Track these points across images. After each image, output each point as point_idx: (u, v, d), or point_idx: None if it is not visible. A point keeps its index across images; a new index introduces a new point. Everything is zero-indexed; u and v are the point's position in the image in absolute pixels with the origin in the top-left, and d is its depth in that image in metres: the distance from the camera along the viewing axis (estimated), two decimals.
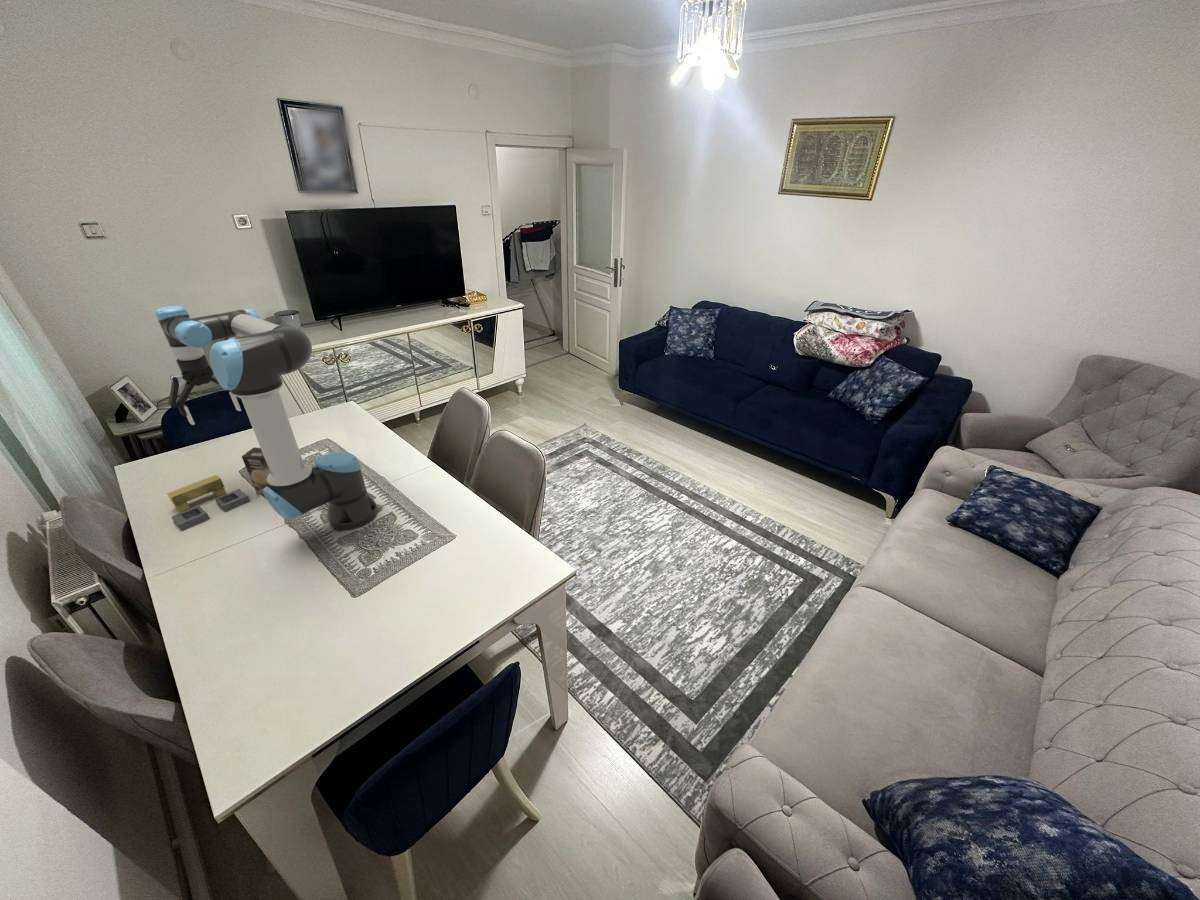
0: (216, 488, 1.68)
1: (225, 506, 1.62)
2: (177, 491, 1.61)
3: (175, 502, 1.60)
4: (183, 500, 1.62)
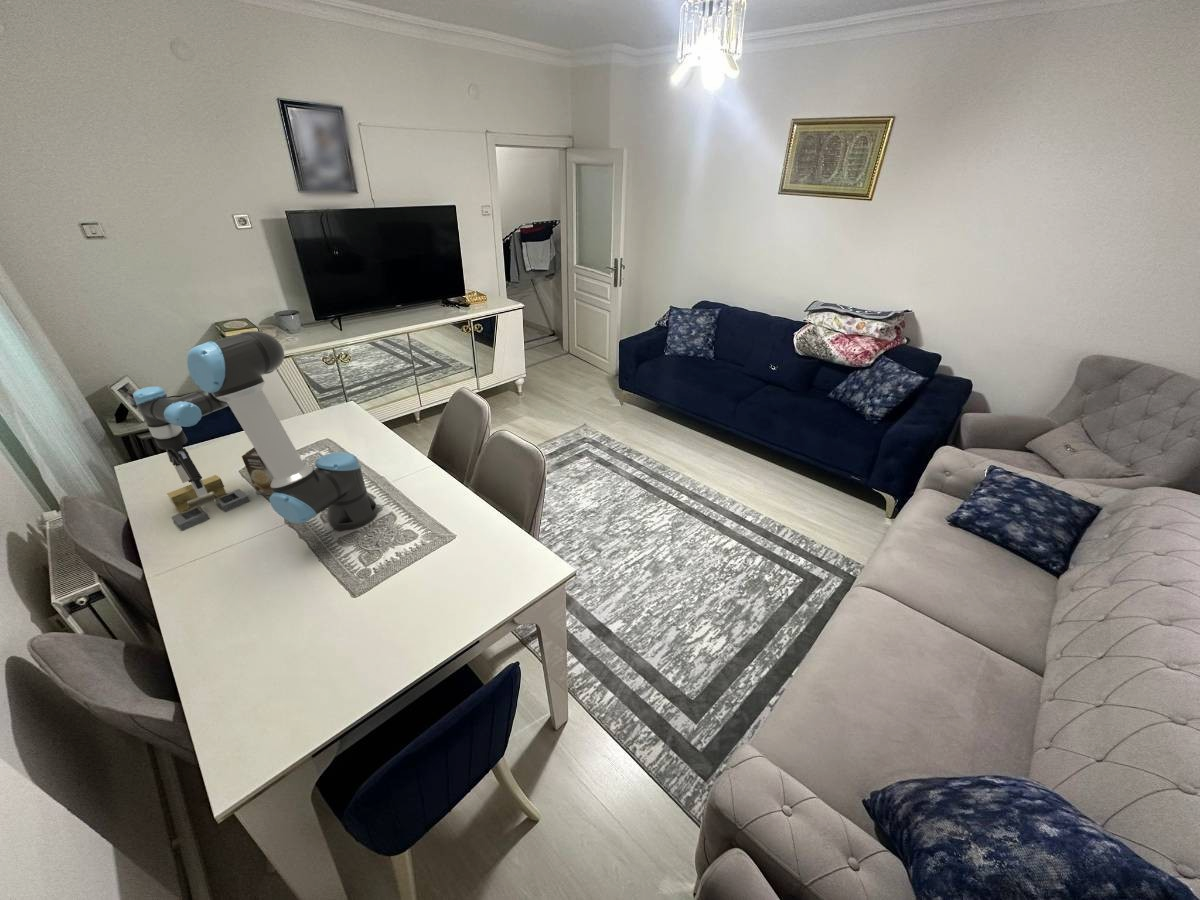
0: (216, 488, 1.68)
1: (225, 506, 1.62)
2: (177, 491, 1.61)
3: (175, 502, 1.60)
4: (183, 500, 1.62)
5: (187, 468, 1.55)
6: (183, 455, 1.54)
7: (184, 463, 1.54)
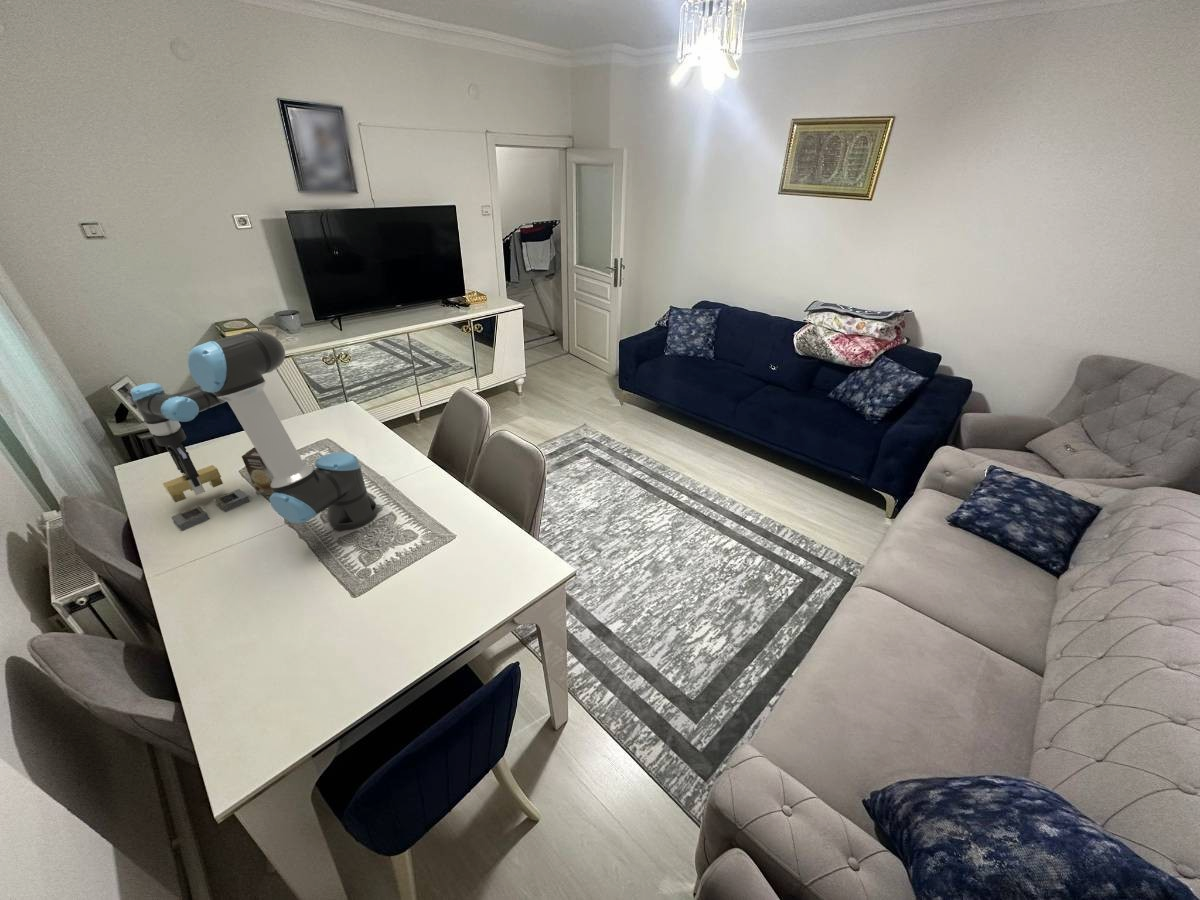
0: (213, 478, 1.66)
1: (225, 506, 1.62)
2: (173, 481, 1.59)
3: (171, 492, 1.58)
4: (179, 490, 1.59)
5: (186, 468, 1.56)
6: (184, 456, 1.54)
7: (184, 463, 1.55)
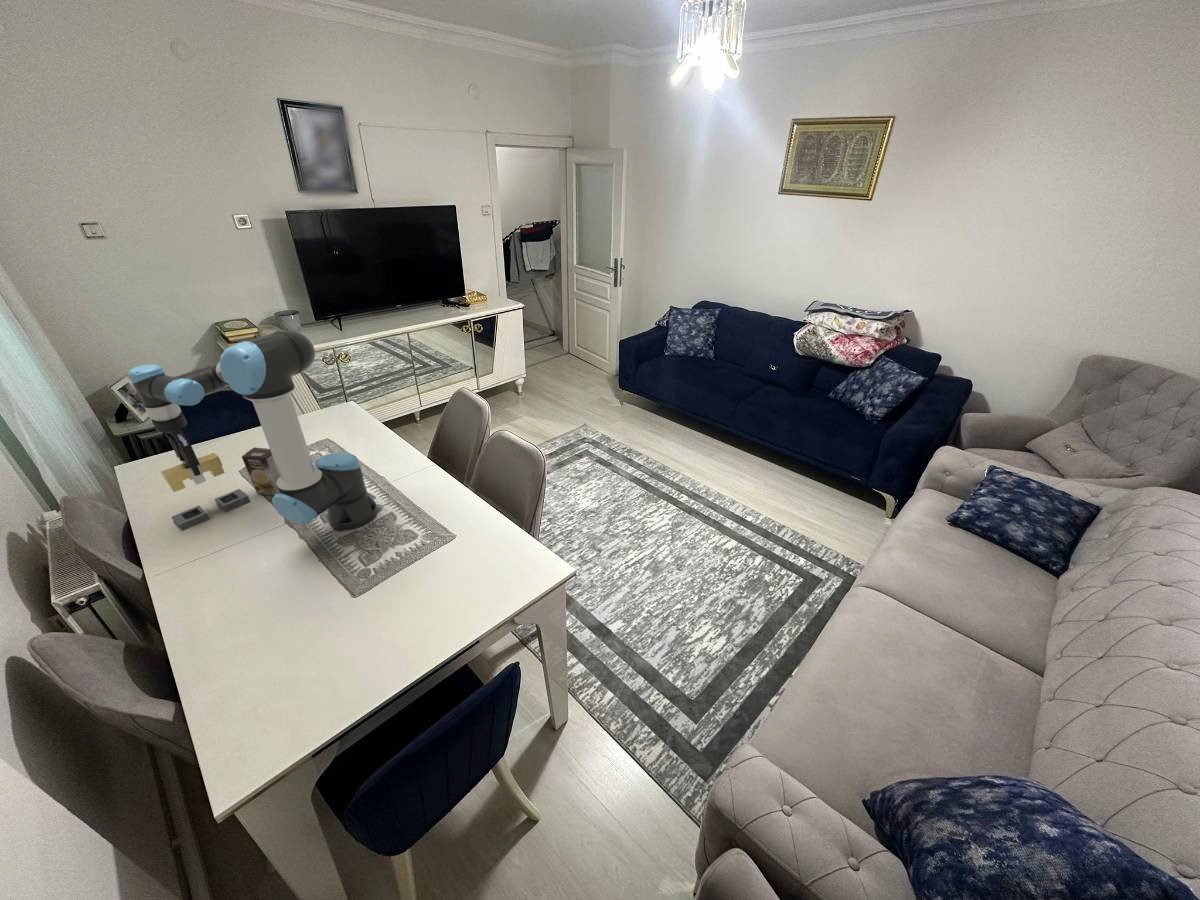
0: (214, 467, 1.57)
1: (225, 506, 1.62)
2: (172, 469, 1.50)
3: (169, 481, 1.49)
4: (178, 479, 1.50)
5: (186, 455, 1.47)
6: (185, 443, 1.45)
7: (184, 450, 1.46)
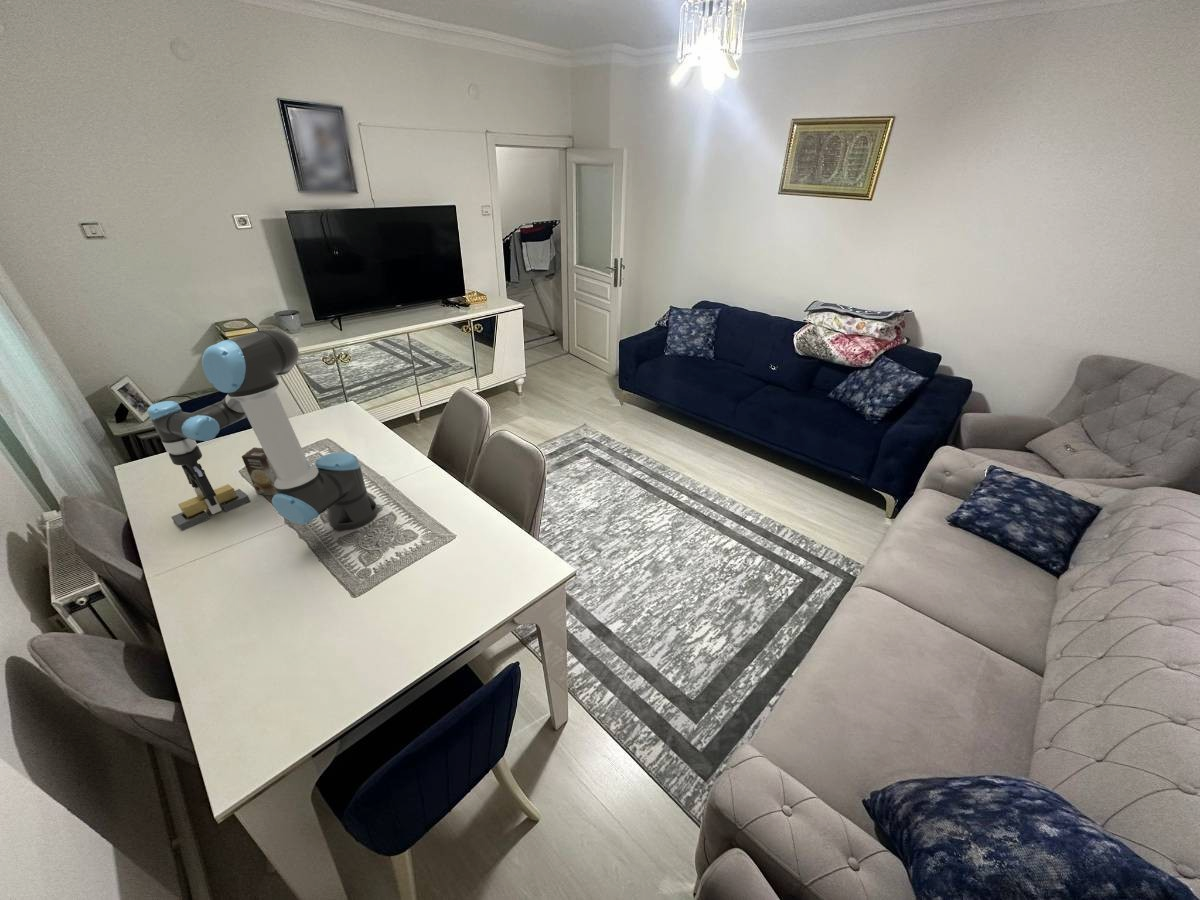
0: (228, 498, 1.64)
1: (225, 506, 1.62)
2: (189, 501, 1.57)
3: (187, 513, 1.55)
4: (195, 511, 1.57)
5: (202, 486, 1.52)
6: (200, 474, 1.50)
7: (200, 481, 1.51)
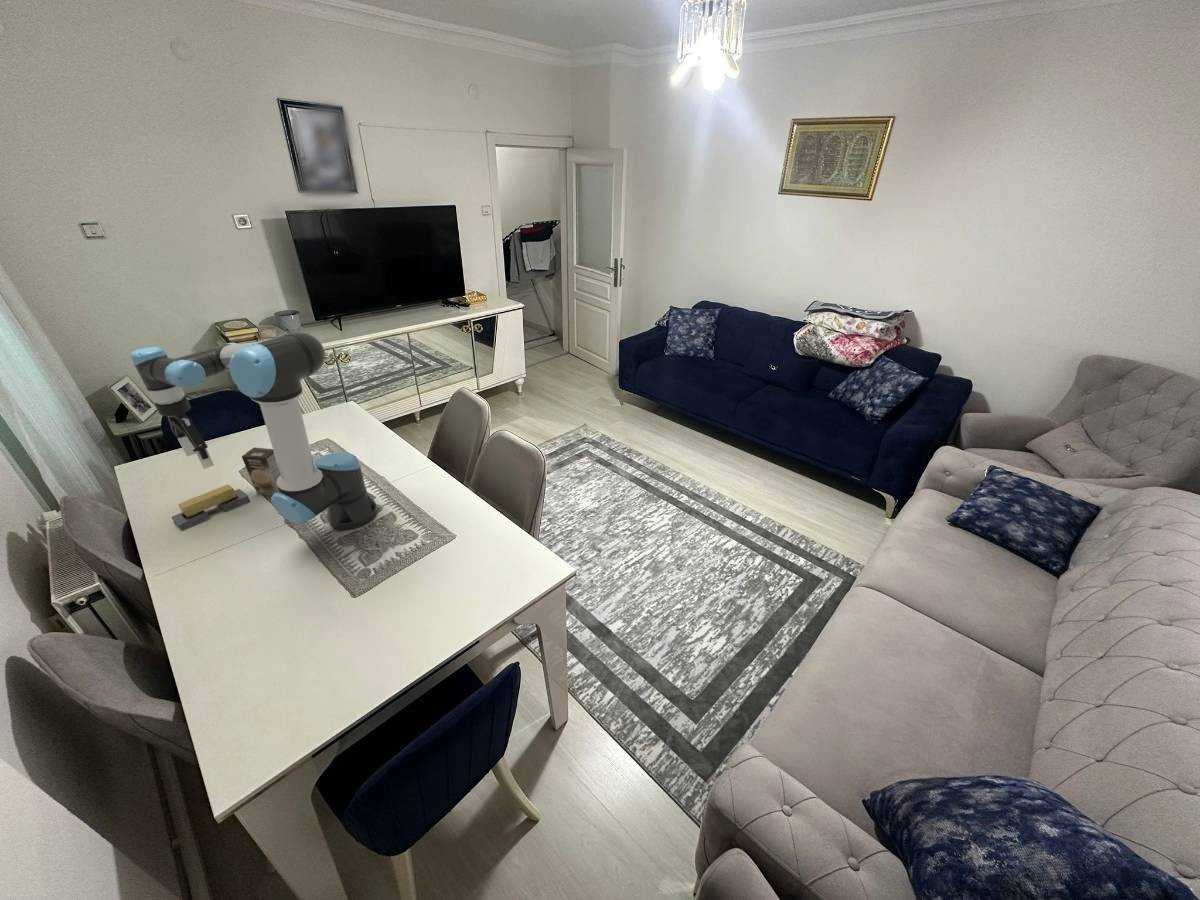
0: (228, 498, 1.64)
1: (225, 506, 1.62)
2: (189, 501, 1.57)
3: (187, 513, 1.55)
4: (195, 511, 1.57)
5: (191, 436, 1.43)
6: (187, 422, 1.42)
7: (188, 430, 1.43)
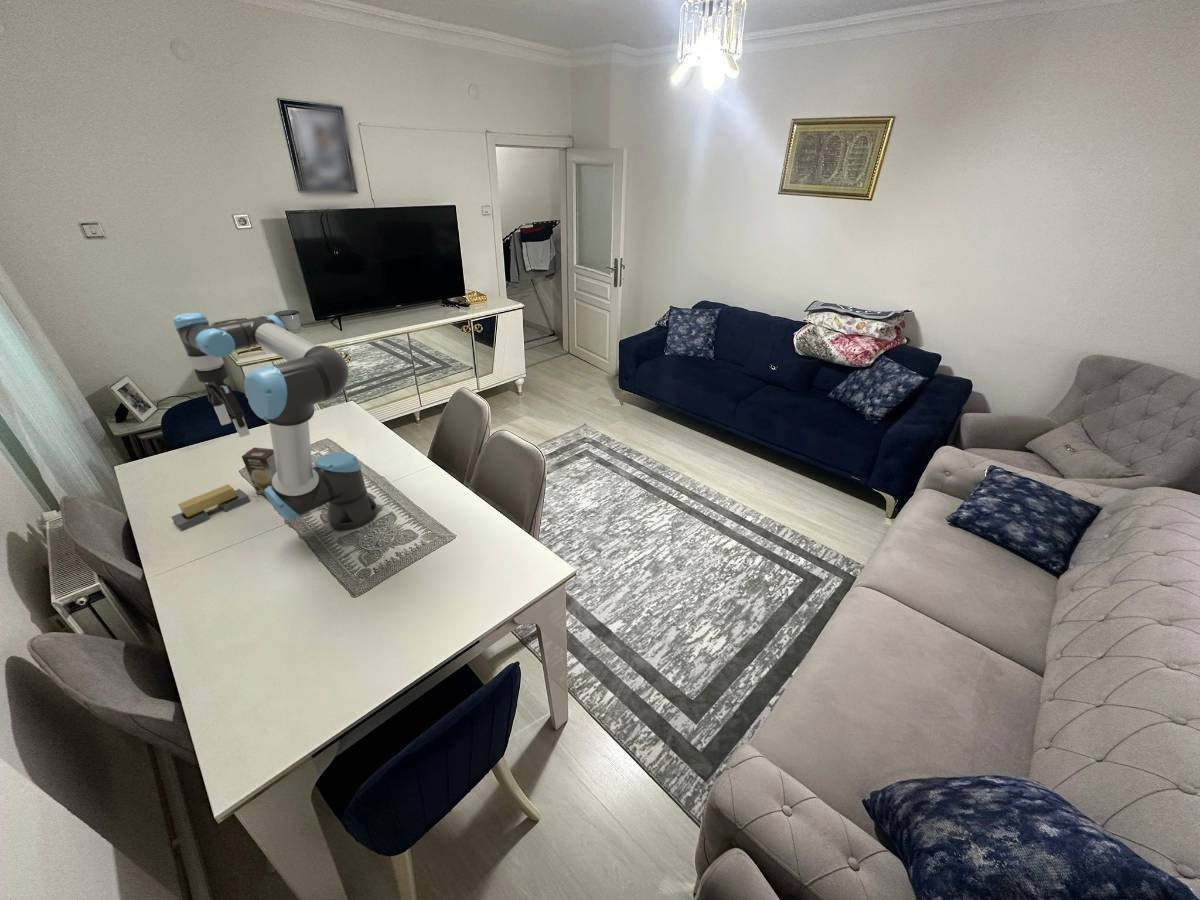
0: (228, 498, 1.64)
1: (225, 506, 1.62)
2: (189, 501, 1.57)
3: (187, 513, 1.55)
4: (195, 511, 1.57)
5: (230, 403, 1.43)
6: (226, 389, 1.42)
7: (226, 398, 1.43)
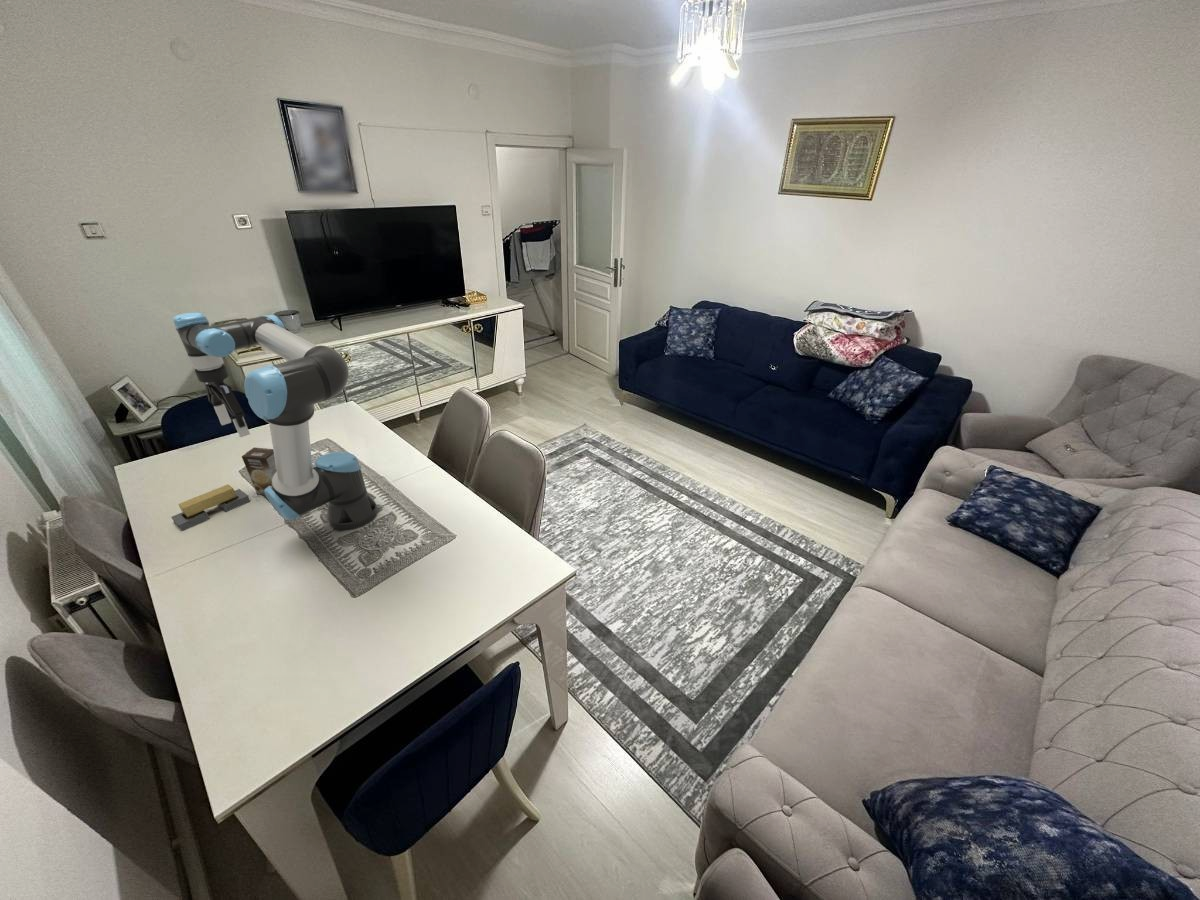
0: (228, 498, 1.64)
1: (225, 506, 1.62)
2: (189, 501, 1.57)
3: (187, 513, 1.55)
4: (195, 511, 1.57)
5: (230, 403, 1.43)
6: (226, 389, 1.42)
7: (226, 398, 1.43)
